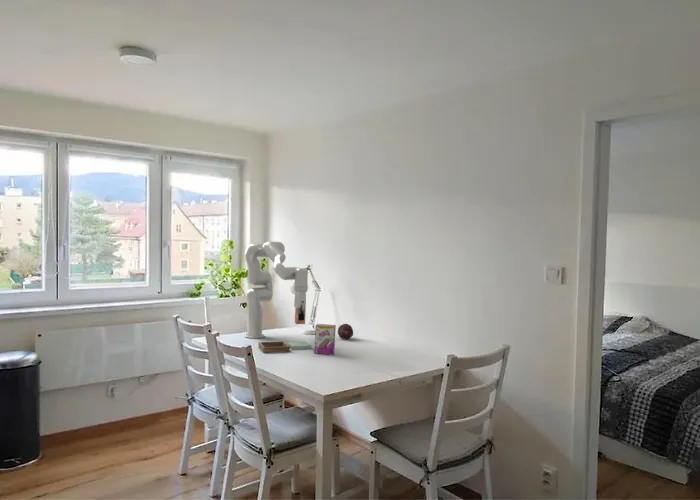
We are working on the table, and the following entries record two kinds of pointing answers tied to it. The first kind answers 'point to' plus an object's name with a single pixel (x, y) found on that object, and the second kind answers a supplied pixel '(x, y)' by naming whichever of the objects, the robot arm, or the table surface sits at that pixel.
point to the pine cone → (345, 331)
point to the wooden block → (298, 316)
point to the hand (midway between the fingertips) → (300, 319)
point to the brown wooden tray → (273, 347)
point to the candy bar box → (325, 339)
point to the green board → (299, 345)
